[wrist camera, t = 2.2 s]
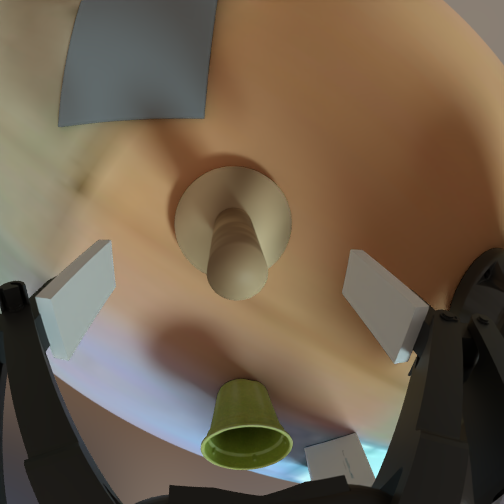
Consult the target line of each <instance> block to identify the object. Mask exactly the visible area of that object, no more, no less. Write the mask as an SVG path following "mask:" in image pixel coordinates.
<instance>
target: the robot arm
mask: <svg viewBox="0 0 504 504" xmlns="http://www.w3.org/2000/svg"><path fill="white" fill-rule="evenodd" d="M115 287H116V284H115V275H114V266H113V256H112V244H111V240H98V241H97V242H95V243H94V244H93V245H92V246H91V247H89V248H88V249H87V250H86V251H85V252H84V253H82V254H81V255H80V256H79V257H78V258H77V259H75V260H74V261H73V262H72V263H71V264H70V265H69V266H68V267H66V268H65V269H64V270H63V271H62V272H61V273H60V274H59V275H58V276H56V277H54V278H52V279H50V280H48V281H47V282H46V283H45V284H44V285H43V286H42V287H41V288H39V289H38V291H36V292H35V293H34V294H33V295H32V296H31V297H30V298H28V294H27V290H26V286H25V284H24V282H21V281H12V282H8V283H5V284H3V285H1V286H0V308H1V311H2V314H0V504H7V502H6V495H5V485H4V475H3V453H2V431H3V430H2V429H3V410H4V396H5V388H6V379H7V372H8V378H9V383H10V389H11V395H12V400H13V404H14V409H15V412H16V417H17V420H18V424H19V428H20V432H21V435H22V438H23V442H24V445H25V448H26V451H27V454H28V459H27V460H24V466H25V469H26V473H27V475H28V478H29V480H30V483H31V486H32V488H33V491H34V493H35V495H36V498H37V500H38V502H39V504H123V503H122V502H121V501H120V499H119V498H118V497H117V496H116V494H115V493H114V491H113V490H112V489H111V487H110V485H109V484H108V482H107V481H106V479H105V478H104V476H103V475H102V473H101V472H100V470H99V469H98V467H97V465H96V463H95V462H94V460H93V458H92V456H91V455H90V453H89V451H88V449H87V447H86V446H85V444H84V442H83V440H82V438H81V436H80V434H79V432H78V430H77V428H76V426H75V424H74V422H73V420H72V418H71V416H70V413H69V411H68V409H67V407H66V404H65V402H64V400H63V397H62V395H61V393H60V390H59V388H58V385H57V383H56V380H55V377H54V375H53V372H52V369H51V366H50V363H49V360H48V358H47V355H46V350H47V349H48V347H49V346H50V349H51V351H52V354H53V357H54V358H58V359H63V360H68V361H69V360H70V358H71V356H72V355H73V353H74V351H75V350H76V348H77V346H78V345H79V343H80V341H81V340H82V338H83V336H84V335H85V333H86V332H87V330H88V328H89V327H90V325H91V324H92V322H93V320H94V319H95V317H96V316H97V314H98V313H99V311H100V310H101V308H102V307H103V305H104V303H105V302H106V300H107V299H108V297H109V296H110V294H111V293H112V292H113V290H114V289H115ZM342 294H343V295H344V297H345V298H346V299H347V301H348V302H349V303H350V305H351V306H352V307H353V308H354V310H355V311H356V312H357V314H358V315H359V316H360V318H361V319H362V320H363V322H364V323H365V324H366V326H367V327H368V328H369V330H370V331H371V333H372V334H373V335H374V337H375V338H376V339H377V341H378V342H379V343H380V345H381V346H382V348H383V349H384V350H385V352H386V353H387V354H388V356H389V357H390V359H391V360H392V361H393V363H394V364H396V363H402V362H408V360H409V358H410V356H411V353H412V351H413V350H414V352H415V353H416V354H417V357H416V359H415V361H414V364H413V366H412V368H411V370H410V372H409V374H408V376H411V377H410V381H409V385H408V389H407V393H406V396H405V400H404V403H403V407H402V410H401V413H400V416H399V420H398V423H397V426H396V429H395V432H394V434H393V437H392V440H391V443H390V445H389V448H388V451H387V453H386V456H385V458H384V461H383V463H382V466H381V468H380V471H379V473H378V475H377V477H376V479H375V481H374V483H373V485H372V486H371V487H368V486H363V485H355V484H348V483H347V480H346V477H345V475H341V476H336V477H331V478H326V479H320V480H314V481H308V482H304V483H301V484H298V485H295V486H293V487H290V488H287V489H284V490H281V491H278V492H275V493H271V494H268V495H264V496H256V495H249V494H243V493H238V492H232V491H227V490H222V489H217V488H207V487H187V486H174V485H170V486H169V487H170V488H169V495H161V496H157V497H152V498H149V499H145V500H142V501H140V502H138V503H135V504H504V250H503V249H501V248H493V249H490V250H488V251H486V252H485V253H483V254H482V255H481V256H480V257H479V258H478V259H477V260H476V261H475V262H474V263H473V264H472V265H471V266H470V268H469V269H468V271H467V272H466V274H465V275H464V277H463V278H462V280H461V282H460V284H459V286H458V288H457V290H456V292H455V295H454V297H453V300H452V303H451V307H450V311H446V310H436V311H435V310H434V309H433V308H432V307H431V306H430V305H429V304H428V303H426V302H425V301H423V299H422V298H421V297H420V296H418V295H417V294H416V293H415V292H414V291H413V290H411V289H409V288H408V287H407V286H406V285H404V284H403V283H402V282H401V281H400V280H399V279H397V278H396V277H395V276H394V275H393V274H391V273H390V272H389V271H388V270H387V269H385V268H384V267H383V266H382V265H380V264H379V263H378V262H377V261H376V260H374V259H373V258H372V257H371V256H369V255H368V254H367V253H366V252H364V251H363V250H355V249H351V250H350V255H349V261H348V266H347V271H346V276H345V281H344V285H343V290H342Z"/></svg>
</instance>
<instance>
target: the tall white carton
mask: <svg viewBox="0 0 504 504" xmlns="http://www.w3.org/2000/svg"><path fill="white" fill-rule="evenodd" d="M304 450H305V455H306V460H307V465H308V470H309V474H310V478H311V481H314V480H320V479H326V478H331V477H336V476H341V475H345V477H346V480H347V483H348V484H355V485H363V486H368V487H371V486H372V485H373V483H374V481H375V477H374V474H373V472H372V469H371V467H370V465H369V462H368V460H367V457H366V455H365V453H364V450H363V448H362V445H361V443H360V441H359V438H358V436H357V434H356V433H353V434H350V435H347V436H344V437H340V438H337V439H334V440H331V441H327V442H324V443H320V444H316V445H313V446H309V447H305V448H304Z"/></svg>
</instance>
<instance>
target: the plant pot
mask: <svg viewBox="0 0 504 504" xmlns="http://www.w3.org/2000/svg"><path fill="white" fill-rule="evenodd" d="M292 446H293V441H292V438H291V436H290V435H289V434H288V433H287V432H286V431H285V430H284V428H283V427H282V426H281V425H280V423H279V421H278V418H277V416H276V413H275V411H274V408H273V405H272V403H271V400H270V397H269V395H268V392H267V390H266V388H265V387H264V385H262V384H261V383H259V382H257V381H250V380H246V379H236V380H232V381H230V382H227V383H226V384H224V385H223V386H222V387H221V388H220V390H219V392H218V394H217V399H216V404H215V409H214V414H213V419H212V423H211V428H210V430H209V431H208V434H207V436H206V437H205V438H204V440H203V441H202V444H201V452H202V454H203V456H204V457H205V458H206V459H207V460H208V461H209V462H211V463H213V464H215V465H217V466H220V467H224V468H228V469H235V470H250V469H258V468H263V467H266V466H269V465H272V464H275V463H277V462H278V461H280V460H282V459H283V458H285V457H286V456H287V455H288V454H289V453H290V451H291V449H292Z"/></svg>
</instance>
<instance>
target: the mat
mask: <svg viewBox="0 0 504 504" xmlns="http://www.w3.org/2000/svg"><path fill="white" fill-rule="evenodd" d="M216 7H217V0H83V1H81V3H80V6H79V9H78V13H77V16H76V20H75V24H74V28H73V32H72V36H71V40H70V45H69V50H68V55H67V60H66V65H65V71H64V77H63V84H62V92H61V100H60V110H59V122H58V127H65V126H72V125H80V124H88V123H98V122H109V121H122V120H138V119H171V118H192V119H204V115H205V103H206V92H207V81H208V71H209V62H210V53H211V45H212V36H213V29H214V21H215V14H216Z"/></svg>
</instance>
